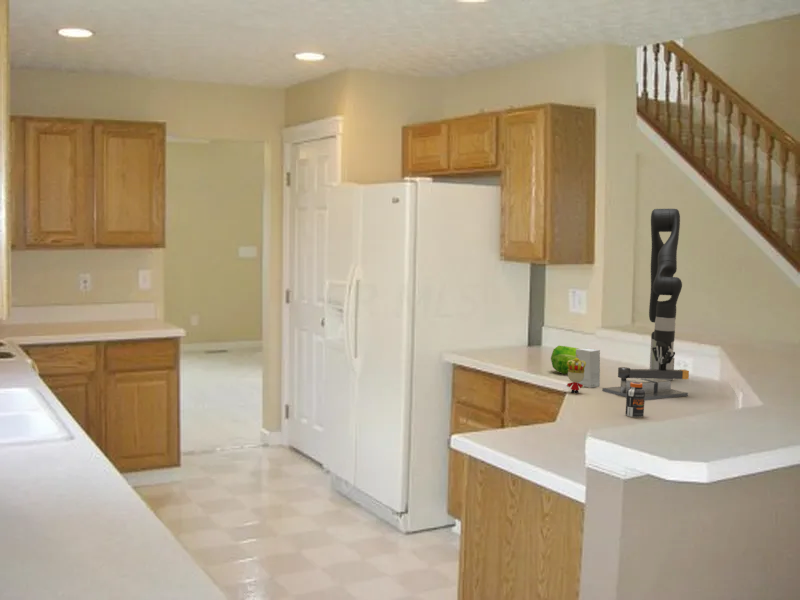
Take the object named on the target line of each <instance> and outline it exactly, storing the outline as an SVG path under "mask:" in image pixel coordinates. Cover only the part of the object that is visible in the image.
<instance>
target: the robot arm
mask: <svg viewBox="0 0 800 600" xmlns="http://www.w3.org/2000/svg"><path fill="white" fill-rule="evenodd" d="M650 214H651V215H650V232H651V233H650V234H651V236H650V237H651V250H650V251H651V252H650V253H651V254H650V256H651V257H650V296H649V306H648V307H649V308H648V317H649V320H650V322H651V323H654V328H653V329H654V331H652V333H651V339H650V355H649V357H650V358H649V369H664V370H675V355H676V352H675V351H674V346H675V345H674V344H675V343H674V342H675V338H676V337H675V335H676V317H677V304H678V299H679V297H680V295H681V294H680V293H681V291H682V287H683V282H682V279H681V278H679V277H678V276H674V275H675V274H676V272H677V270H678V269H677V263H678V262H677V257H678V256H677V255H678V254H677V251H678V245H679V236H680V228H681V214H680V211H679V210H678V208H654V209H652V211H651V213H650ZM668 232H669V233H670V235H669V237H668V239H667V240H666V241H665V243H664V242H663V240H662V237H661V234H660V233H668ZM660 296H670V298H669V299H667V300H662V301H661V300H659V297H660ZM664 380H668V381H671V382H672V381H673V380H674V379H664Z"/></svg>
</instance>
